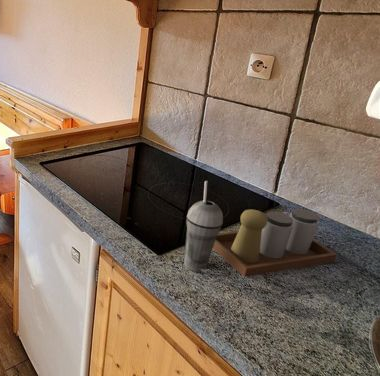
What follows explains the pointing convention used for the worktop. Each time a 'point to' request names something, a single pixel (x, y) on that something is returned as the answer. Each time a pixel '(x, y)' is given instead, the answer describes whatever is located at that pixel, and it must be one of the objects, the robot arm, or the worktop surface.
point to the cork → (249, 236)
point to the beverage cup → (201, 232)
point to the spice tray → (267, 264)
